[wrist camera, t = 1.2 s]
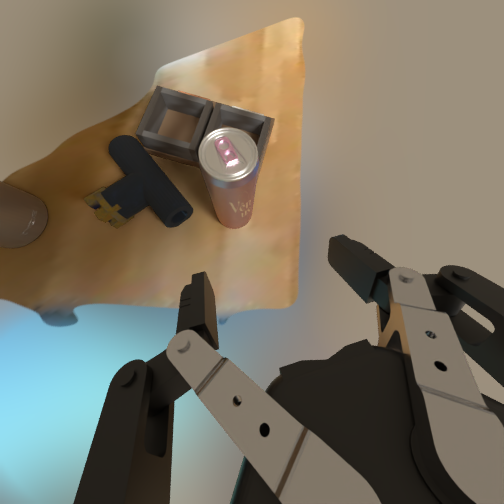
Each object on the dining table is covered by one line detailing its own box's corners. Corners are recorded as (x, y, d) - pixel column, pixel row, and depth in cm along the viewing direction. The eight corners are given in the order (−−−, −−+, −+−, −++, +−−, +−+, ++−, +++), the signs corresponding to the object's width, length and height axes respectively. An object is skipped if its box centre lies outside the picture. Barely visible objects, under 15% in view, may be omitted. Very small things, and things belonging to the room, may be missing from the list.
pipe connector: (117, 248, 25) (58, 168, 26) (138, 255, 30) (88, 187, 32) (188, 200, 27) (129, 128, 28) (196, 214, 32) (146, 153, 34)
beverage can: (241, 192, 33) (242, 116, 18) (257, 220, 32) (271, 166, 17) (211, 205, 32) (185, 139, 17) (226, 235, 31) (213, 192, 16)
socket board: (146, 153, 33) (133, 134, 29) (171, 95, 35) (162, 70, 31) (256, 183, 33) (258, 169, 29) (273, 124, 36) (277, 103, 31)
